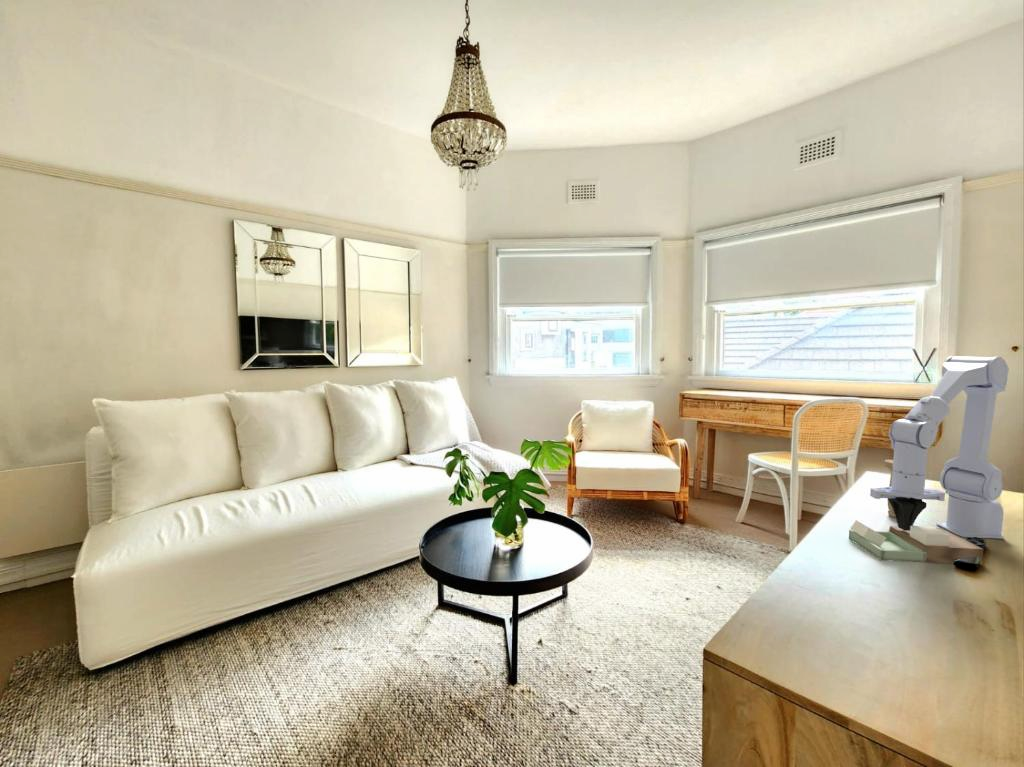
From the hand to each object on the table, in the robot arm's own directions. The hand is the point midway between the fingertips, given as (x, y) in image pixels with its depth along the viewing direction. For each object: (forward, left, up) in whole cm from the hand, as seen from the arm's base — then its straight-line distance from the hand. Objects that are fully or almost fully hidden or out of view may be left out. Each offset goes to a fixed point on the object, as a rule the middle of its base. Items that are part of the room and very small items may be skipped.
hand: (904, 528), depth 105 cm
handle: (-12, -19, -4) cm, 23 cm away
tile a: (+7, 0, 0) cm, 7 cm away
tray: (+6, +2, -4) cm, 7 cm away
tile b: (-2, +5, -1) cm, 5 cm away
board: (-4, +2, -4) cm, 7 cm away
